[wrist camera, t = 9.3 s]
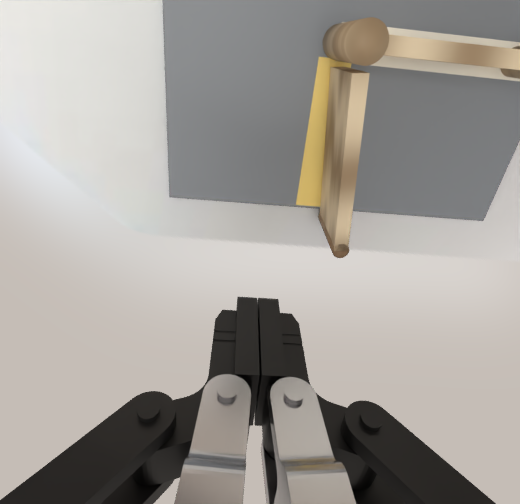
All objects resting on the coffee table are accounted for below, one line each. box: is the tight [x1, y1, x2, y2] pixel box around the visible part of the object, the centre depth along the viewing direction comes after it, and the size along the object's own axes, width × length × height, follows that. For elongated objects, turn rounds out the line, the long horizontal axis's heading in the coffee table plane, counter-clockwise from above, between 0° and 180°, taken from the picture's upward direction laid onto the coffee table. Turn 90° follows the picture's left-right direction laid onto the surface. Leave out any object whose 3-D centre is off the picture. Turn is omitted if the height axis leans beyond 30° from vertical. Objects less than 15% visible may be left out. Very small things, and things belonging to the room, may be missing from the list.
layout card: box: [163, 0, 520, 221], centre depth 27 cm, size 28×18×1 cm, turn 85°
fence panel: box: [318, 67, 370, 258], centre depth 26 cm, size 12×1×6 cm, turn 1°
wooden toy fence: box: [323, 17, 520, 79], centre depth 23 cm, size 15×2×8 cm, turn 85°
